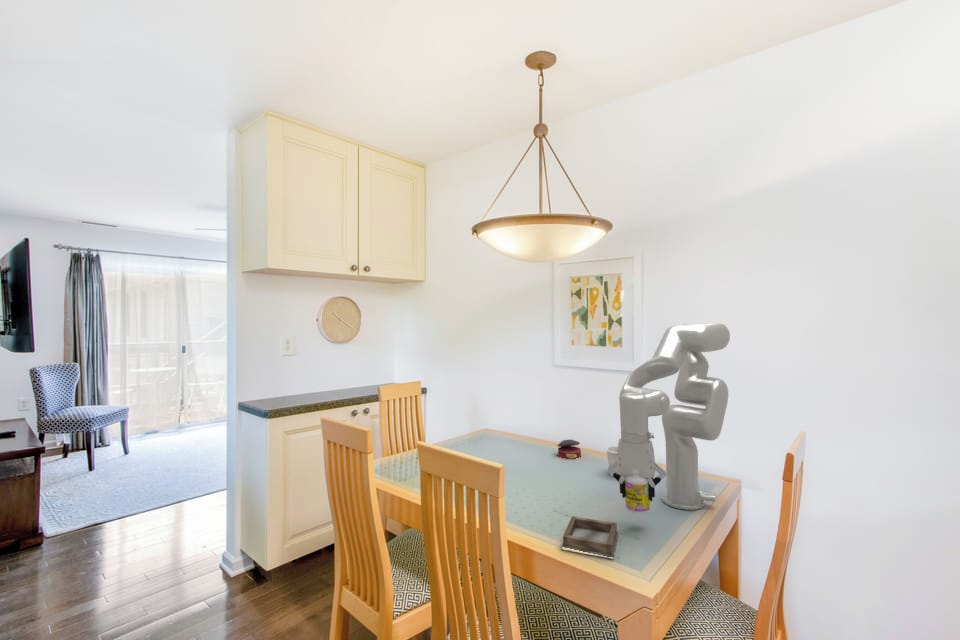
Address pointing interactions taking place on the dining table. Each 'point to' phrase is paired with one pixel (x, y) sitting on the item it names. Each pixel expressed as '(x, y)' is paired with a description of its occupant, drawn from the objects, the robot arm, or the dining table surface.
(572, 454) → the canned food
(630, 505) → the supplement bottle
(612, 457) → the dixie cup
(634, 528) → the dining table surface
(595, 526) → the shallow square brown tray
